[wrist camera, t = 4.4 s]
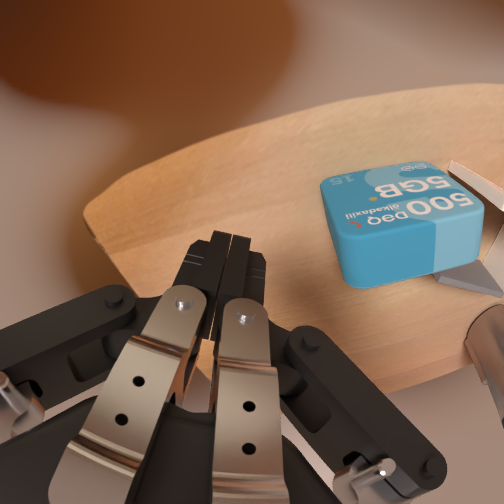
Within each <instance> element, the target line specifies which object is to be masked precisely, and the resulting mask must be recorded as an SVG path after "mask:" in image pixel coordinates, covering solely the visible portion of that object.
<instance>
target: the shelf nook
mask: <svg viewBox="0 0 504 504" xmlns="http://www.w3.org/2000/svg"><path fill="white" fill-rule="evenodd" d="M448 170H449V171H450V172H451V173H453V174H454V175H456V176H457V177H459V178H460V179H461V180H463V181H464V182H466V183H467V184H468V185H470V186H471V187H472V188H474V189H475V190H476V191H478V192H479V193H480V194H482V195H483V196H484V197H485V198H487V199H488V200H489V201H490V202H492V203H493V204H494V205H495V206H496V207H498V208H499V209H500V210H501V211H503V212H504V190H503V189H502V188H500V187H498V186H497V185H495V184H494V183H492V182H490V181H489V180H487V179H485V178H483V177H482V176H480V175H478V174H476V173H475V172H473V171H471V170H469V169H467V168H466V167H464V166H462V165H460V164H458V163H456V162H454V161H452V160H451V162H450V165H449V168H448ZM432 275H433V276H434V277H435V279H436V281H437V282H438V283H442V284H446V285H450V286H454V287H458V288H463V289H467V290H471V291H475V292H479V293H483V294H487V295H490V296H494V297H498V298H501V297H502V296H503V294H504V223H503V225H502V227H501V229H500V231H499V233H498V235H497V237H496V239H495V241H494V243H493V245H492V247H491V248H490V250H489V252H488V254H487V256H486V257H485V259H484V261H483V263H481V261H480V260H477V259H476V260H475V261H474V262H472V263H469V264H465V265H462V266H458V267H455V268H451V269H447V270H443V271H440V272H436V273H432Z"/></svg>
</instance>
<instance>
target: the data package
mask: <svg viewBox="0 0 504 504" xmlns="http://www.w3.org/2000/svg"><path fill="white" fill-rule="evenodd" d="M320 188H321V193H322V198H323V203H324V208H325V213H326V218H327V223H328V227H329V230H330V233H331V237H332V240H333V243H334V247H335V250H336V254H337V257H338V261H339V264H340V268H341V272H342V275H343V278H344V281H345V282H346V283H347V284H348V285H350V286H351V287H354V288H358V289H368V288H373V287H378V286H382V285H386V284H391V283H395V282H399V281H404V280H408V279H412V278H416V277H420V276H424V275H428V274H432V273H436V272H440V271H443V270H447V269H451V268H455V267H458V266H462V265H465V264H469V263H472V262H474V261H475V260H476V259H477V258H478V256H479V250H480V244H481V236H482V228H483V219H484V204H483V203H482V201H481V200H479V199H478V198H477V197H476V196H474V195H473V194H472V193H471V192H469V191H468V190H467V189H465V188H464V187H463V186H462V185H460V184H459V183H458V182H456V181H455V180H454V179H452V178H451V177H449V176H448V175H447V174H445V173H444V172H442V171H441V170H440V169H438V168H437V167H435V166H434V165H432V164H430V163H427V162H410V163H404V164H398V165H392V166H386V167H381V168H375V169H370V170H364V171H359V172H354V173H349V174H343V175H338V176H334V177H330V178H327V179H325V180H324V181H323V182H322V183H321V184H320Z"/></svg>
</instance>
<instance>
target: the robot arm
mask: <svg viewBox="0 0 504 504" xmlns="http://www.w3.org/2000/svg"><path fill="white" fill-rule="evenodd" d="M231 237H232V234H229V233H225V232H220V231H215V230H214V232H213V234H212V237H211V240H210V242H208V241H203V240H197V241H196V242H194V243H193V244H192V245H190V247H189V249H188V251H187V254H186V256H185V258H184V261H183V262H182V265H181V267H180V269H179V271H178V274H177V276H176V278H175V280H174V283H173V285H172V287H170V288H169V289H167V290H166V291H165V292H164V294H163V295H161V296H157V297H152V298H135V295H134V293H133V292H132V290H130V289H129V288H127V287H125V286H122V285H115V284H114V285H107V286H105V287H102V288H99V289H97V290H95V291H92V292H89V293H87V294H85V295H82V296H80V297H77V298H75V299H72V300H70V301H68V302H65V303H63V304H60V305H58V306H55V307H53V308H51V309H48V310H46V311H43V312H41V313H39V314H36V315H34V316H32V317H29V318H27V319H24V320H22V321H20V322H18V323H15V324H13V325H10V326H8V327H6V328H4V329H1V330H0V504H410V502H411V501H412V500H413V499H415V498H417V497H419V496H421V495H422V494H425V493H427V492H429V491H431V490H434V489H436V488H438V487H439V486H440V485H441V484H442V483H443V482H444V480H445V478H446V475H447V464H446V461H445V458H444V457H443V455H442V454H441V453H440V452H439V451H438V450H437V449H436V448H435V447H434V446H433V445H432V444H431V443H430V442H429V440H427V438H426V437H425V436H424V435H423V434H422V433H420V431H419V430H418V429H417V428H416V427H415V426H414V425H413V424H412V423H411V422H410V421H409V420H408V419H407V418H406V417H405V416H404V415H403V414H402V413H401V412H400V411H399V410H398V409H397V408H396V407H395V405H394V404H393V403H392V402H391V401H390V400H389V399H388V398H387V397H386V396H385V395H384V394H383V393H382V392H381V391H380V390H379V389H378V388H377V387H376V386H375V385H374V384H373V383H372V382H371V381H370V380H369V379H368V378H367V376H366V375H365V374H364V373H363V372H362V371H361V370H360V369H359V368H358V367H357V366H356V365H355V364H354V363H353V362H352V361H351V360H350V359H349V358H348V357H347V356H346V355H345V354H344V353H343V352H342V351H341V350H340V348H339V347H338V346H337V345H336V344H335V343H334V342H333V341H332V340H331V339H330V338H329V337H328V336H327V335H326V334H325V333H324V332H322V331H321V330H319V329H317V328H315V327H312V326H299V327H296V328H295V329H293V330H292V331H291V332H290V331H288V330H285V329H283V328H281V327H279V326H277V325H275V324H274V323H273V322H271V321H270V320H269V319H268V313H267V311H266V309H265V308H264V307H263V303H264V288H265V271H266V261H265V259H264V257H263V255H262V253H258V252H253V251H249V249H250V242H251V238H247V237H243V236H238V235H233V238H232V242H231ZM230 242H231V246H230ZM229 247H230V250H229ZM228 252H229V254H228ZM215 309H216V310H215ZM214 313H215V316H214ZM213 317H214V321H213ZM212 322H213V327H212V332H211V338H210V340H212V341H215V345H214V350H213V356H214V360H213V369H212V378H211V388H210V399H209V409H208V413H192V412H188V411H186V410H184V409H182V407H183V402H184V398H185V395H186V392H187V389H188V386H189V383H190V380H191V378H192V375H193V372H194V369H195V366H196V363H197V360H198V357H199V352H200V345H201V341H202V338H203V339H209V334H210V330H211V326H212ZM464 343H465V345H466V347H467V349H468V352H469V354H470V356H471V358H472V360H473V363H474V365H475V367H476V370H477V372H478V375H479V377H480V379H481V382H482V384H483V385H488V386H489V389H490V391H491V394H492V396H493V399H494V402H495V404H496V407H497V410H498V413H499V416H500V418H501V421H502V425H503V428H504V305H497V306H494V307H492V308H490V309H488V310H487V311H486V312H484V313H483V314H482V315H481V316H480V317H478V319H477V320H476V321H475V322H474V323H473V325H472V326H471V328H470V330H469V332H468V337H467V339H466V340H465V342H464ZM105 380H106V382H105V383H104V385H103V387H102V389H101V391H100V393H99V395H97V396H93V397H90V398H88V399H85V400H83V401H81V402H79V403H78V404H76V405H74V406H72V407H70V408H69V409H67V410H65V411H63V412H61V413H59V414H57V415H56V416H54V417H52V418H50V419H48V420H46V421H45V422H43V419H44V414H45V410H48V409H49V408H52V407H54V406H56V405H58V404H60V403H62V402H64V401H66V400H68V399H70V398H72V397H74V396H76V395H78V394H80V393H82V392H84V391H86V390H88V389H90V388H92V387H94V386H96V385H98V384H99V383H102V382H103V381H105ZM280 409H281V411H282V412H283V413H284V414H285V416H286V417H287V418H288V419H289V420H290V422H291V423H292V424H293V425H294V427H295V428H296V429H297V430H298V432H299V433H300V434H301V435H302V436H303V438H304V439H305V440H306V441H307V442H308V444H309V445H310V446H311V447H312V448H313V450H314V451H315V452H316V453H317V454H318V455H319V457H320V458H321V459H322V460H323V461H324V462H325V463H326V465H327V466H328V467H329V468H330V469H331V470H332V471H333V472H334V473H335V476H334V479H333V491H334V493H335V494H336V495H335V494H334V493H333V492H332V491H331V489H330V488H329V487H328V486H327V485H326V483H325V482H324V481H323V480H322V479H321V477H320V476H319V475H318V474H317V472H316V471H315V470H314V469H313V467H312V466H311V465H310V464H309V462H308V461H307V460H306V458H305V457H304V456H303V455H302V453H301V452H300V451H299V450H298V448H297V447H296V446H295V445H294V444H293V443H292V442H291V441H289V440H288V439H287V438H286V437H285V436H283V435H281V419H280V418H281V417H280ZM336 496H337V497H338V498H337V497H336Z"/></svg>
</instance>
